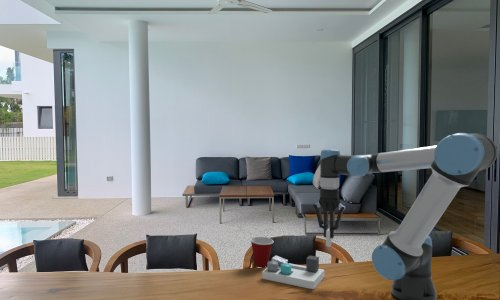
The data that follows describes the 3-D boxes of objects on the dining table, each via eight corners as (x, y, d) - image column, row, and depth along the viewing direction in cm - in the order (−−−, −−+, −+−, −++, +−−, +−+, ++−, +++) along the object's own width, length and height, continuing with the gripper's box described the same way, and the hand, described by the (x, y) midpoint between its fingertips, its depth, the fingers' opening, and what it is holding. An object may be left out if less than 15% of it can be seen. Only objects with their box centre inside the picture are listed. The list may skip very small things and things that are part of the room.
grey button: (279, 269, 149) (279, 262, 149) (275, 272, 145) (275, 265, 145) (270, 267, 151) (270, 260, 151) (265, 270, 147) (265, 263, 147)
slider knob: (318, 268, 148) (318, 257, 148) (315, 272, 144) (315, 259, 144) (309, 267, 150) (309, 255, 150) (306, 270, 146) (306, 258, 146)
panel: (324, 276, 148) (324, 267, 148) (313, 289, 136) (313, 279, 136) (276, 267, 159) (276, 258, 159) (262, 278, 147) (262, 269, 146)
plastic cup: (273, 270, 156) (273, 243, 155) (249, 269, 157) (249, 242, 156) (274, 261, 167) (274, 236, 166) (251, 260, 168) (251, 235, 167)
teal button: (292, 271, 146) (292, 264, 146) (288, 275, 142) (288, 267, 142) (283, 269, 148) (283, 262, 148) (278, 273, 144) (278, 266, 144)
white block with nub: (287, 263, 155) (288, 260, 154) (283, 266, 151) (284, 263, 151) (275, 258, 157) (275, 255, 157) (271, 261, 154) (271, 258, 154)
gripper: (348, 187, 143) (347, 245, 144) (316, 185, 149) (316, 240, 150) (343, 190, 136) (342, 250, 137) (310, 187, 142) (310, 245, 143)
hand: (328, 245), depth 144 cm, fingers closed
